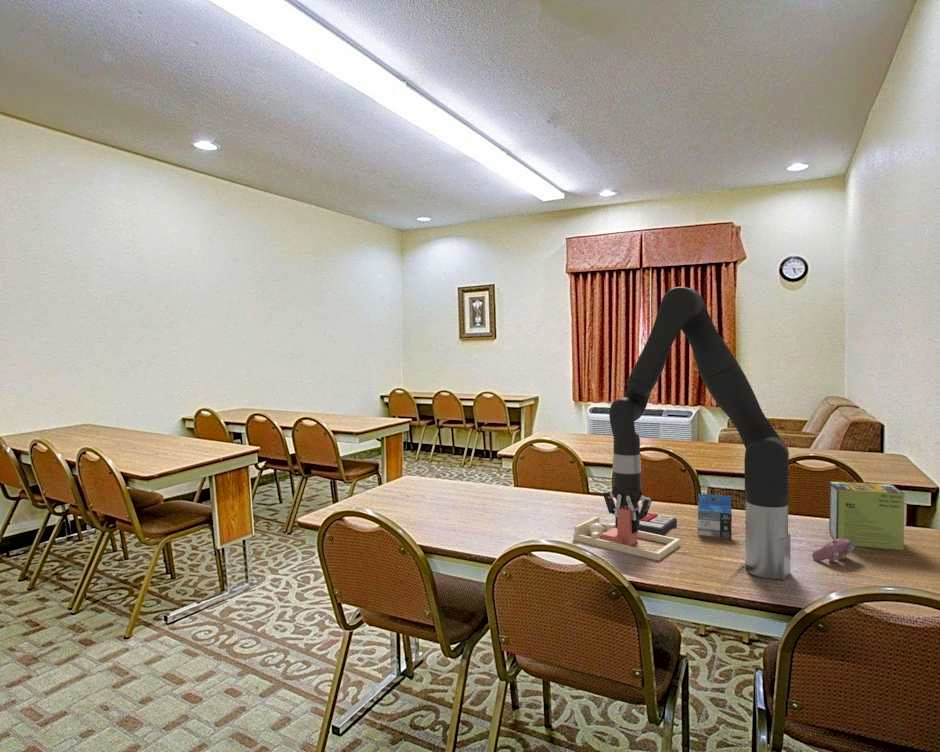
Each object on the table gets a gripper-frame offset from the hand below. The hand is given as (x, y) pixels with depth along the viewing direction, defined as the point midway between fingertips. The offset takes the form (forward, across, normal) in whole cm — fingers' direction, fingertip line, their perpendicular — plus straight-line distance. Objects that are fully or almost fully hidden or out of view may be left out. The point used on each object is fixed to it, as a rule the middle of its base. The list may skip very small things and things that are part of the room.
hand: (627, 530), depth 158 cm
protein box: (+5, -49, -45) cm, 67 cm away
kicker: (+3, +2, 0) cm, 4 cm away
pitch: (+5, 0, 0) cm, 5 cm away
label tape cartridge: (+5, -16, -22) cm, 28 cm away
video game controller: (+5, -45, -24) cm, 51 cm away
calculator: (+5, +1, -18) cm, 19 cm away
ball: (+2, +10, 0) cm, 10 cm away
